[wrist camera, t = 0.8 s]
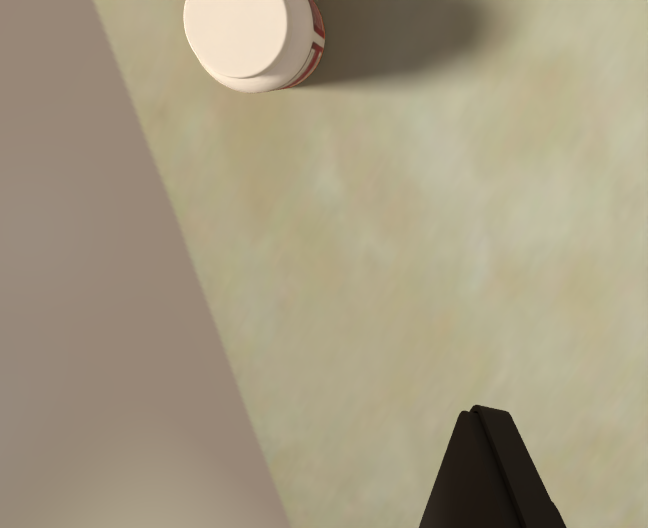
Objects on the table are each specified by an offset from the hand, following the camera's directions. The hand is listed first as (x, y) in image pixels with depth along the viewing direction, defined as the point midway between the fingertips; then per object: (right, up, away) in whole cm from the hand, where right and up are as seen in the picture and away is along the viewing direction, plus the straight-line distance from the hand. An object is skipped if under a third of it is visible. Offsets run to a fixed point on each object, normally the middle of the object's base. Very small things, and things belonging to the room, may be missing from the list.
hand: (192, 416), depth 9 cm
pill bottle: (-1, +17, +24) cm, 30 cm away
